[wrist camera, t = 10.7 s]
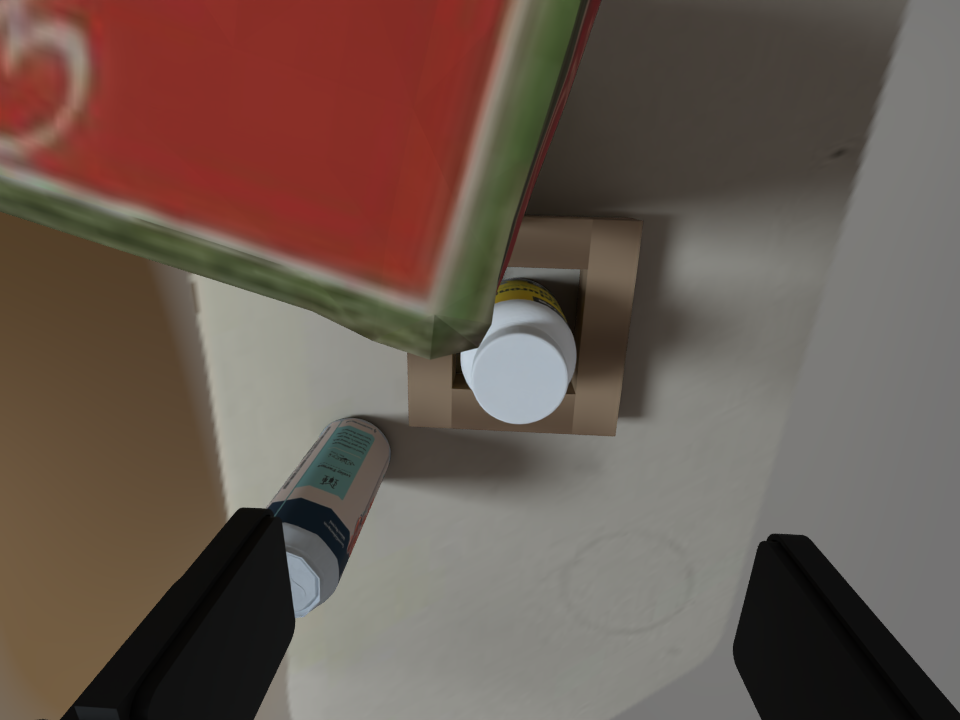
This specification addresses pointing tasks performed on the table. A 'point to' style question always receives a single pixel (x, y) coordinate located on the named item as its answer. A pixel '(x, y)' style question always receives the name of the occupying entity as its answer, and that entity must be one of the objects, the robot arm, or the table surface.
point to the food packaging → (295, 144)
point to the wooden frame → (598, 333)
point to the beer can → (329, 506)
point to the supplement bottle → (522, 355)
